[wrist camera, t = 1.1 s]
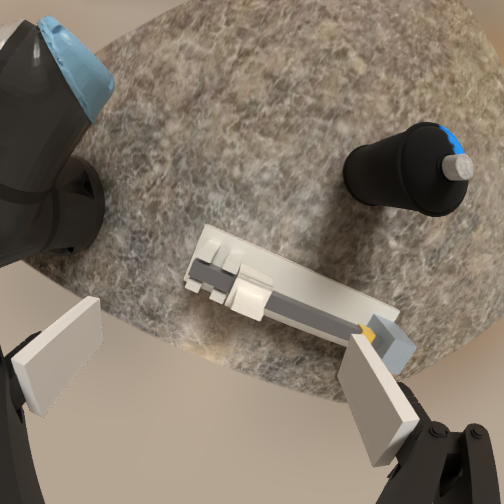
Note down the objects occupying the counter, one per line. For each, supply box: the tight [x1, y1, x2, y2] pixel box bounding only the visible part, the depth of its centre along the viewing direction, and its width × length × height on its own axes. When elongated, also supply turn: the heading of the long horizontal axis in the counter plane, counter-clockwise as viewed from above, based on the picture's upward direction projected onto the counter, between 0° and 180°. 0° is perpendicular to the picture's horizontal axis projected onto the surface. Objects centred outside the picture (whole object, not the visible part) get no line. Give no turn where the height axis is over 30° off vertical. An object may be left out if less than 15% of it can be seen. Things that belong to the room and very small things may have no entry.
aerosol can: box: [343, 122, 473, 217], centre depth 26 cm, size 8×8×20 cm
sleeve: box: [224, 264, 274, 321], centre depth 31 cm, size 4×4×8 cm
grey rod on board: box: [183, 224, 417, 375], centre depth 35 cm, size 30×8×9 cm, turn 66°
